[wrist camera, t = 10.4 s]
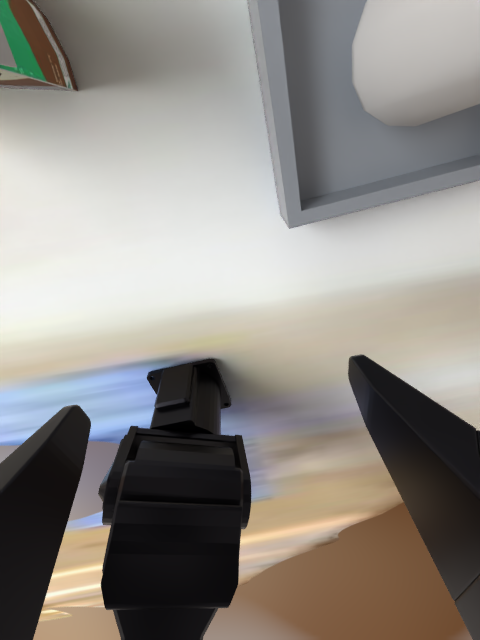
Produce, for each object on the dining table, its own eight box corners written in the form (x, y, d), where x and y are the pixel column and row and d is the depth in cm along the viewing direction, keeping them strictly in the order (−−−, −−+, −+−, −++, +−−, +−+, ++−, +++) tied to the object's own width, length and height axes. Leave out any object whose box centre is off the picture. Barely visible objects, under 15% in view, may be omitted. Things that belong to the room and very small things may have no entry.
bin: (486, 161, 18) (529, 167, 15) (280, 214, 19) (289, 228, 16) (577, -235, 10) (688, -348, 8) (231, -107, 12) (233, -169, 9)
